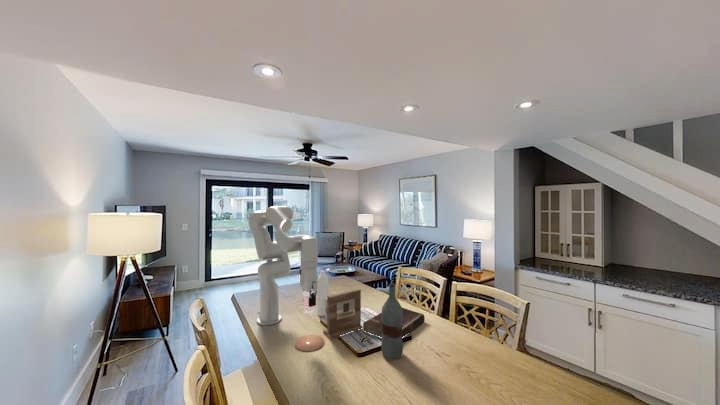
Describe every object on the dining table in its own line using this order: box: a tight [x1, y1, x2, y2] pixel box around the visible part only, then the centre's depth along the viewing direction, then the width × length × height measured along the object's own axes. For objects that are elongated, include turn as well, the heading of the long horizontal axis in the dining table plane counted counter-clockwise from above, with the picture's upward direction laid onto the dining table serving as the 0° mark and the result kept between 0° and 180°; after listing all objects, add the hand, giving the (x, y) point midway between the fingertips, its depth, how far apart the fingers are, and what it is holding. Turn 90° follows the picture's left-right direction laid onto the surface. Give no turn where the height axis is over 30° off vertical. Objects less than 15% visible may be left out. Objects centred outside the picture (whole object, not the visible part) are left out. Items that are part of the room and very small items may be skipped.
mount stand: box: [322, 288, 363, 340], centre depth 137 cm, size 10×18×20 cm, turn 124°
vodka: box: [380, 283, 404, 361], centre depth 116 cm, size 9×9×30 cm
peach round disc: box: [294, 334, 325, 352], centre depth 125 cm, size 13×13×1 cm
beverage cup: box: [302, 290, 316, 315], centre depth 125 cm, size 6×6×14 cm
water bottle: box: [316, 268, 331, 317], centre depth 158 cm, size 9×6×25 cm
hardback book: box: [362, 307, 425, 337], centre depth 141 cm, size 29×19×5 cm, turn 141°
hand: (309, 303), depth 125 cm, fingers closed on beverage cup, 6 cm apart
